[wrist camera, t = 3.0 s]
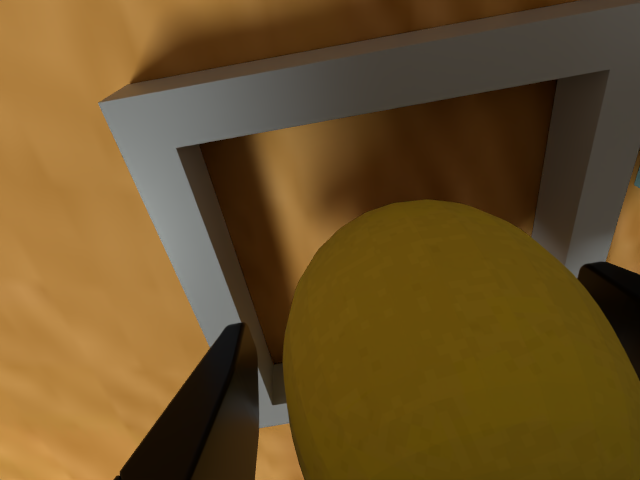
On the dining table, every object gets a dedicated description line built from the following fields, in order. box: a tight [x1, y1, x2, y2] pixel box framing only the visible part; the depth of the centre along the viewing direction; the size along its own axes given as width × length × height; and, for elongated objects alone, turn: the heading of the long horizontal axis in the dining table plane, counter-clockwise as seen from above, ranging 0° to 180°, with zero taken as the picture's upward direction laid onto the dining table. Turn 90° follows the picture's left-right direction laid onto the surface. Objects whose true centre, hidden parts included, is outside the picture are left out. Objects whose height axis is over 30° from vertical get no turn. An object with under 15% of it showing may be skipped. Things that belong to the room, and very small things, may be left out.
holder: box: [98, 0, 640, 428], centre depth 10 cm, size 10×10×2 cm
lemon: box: [283, 199, 640, 480], centre depth 7 cm, size 6×6×8 cm
